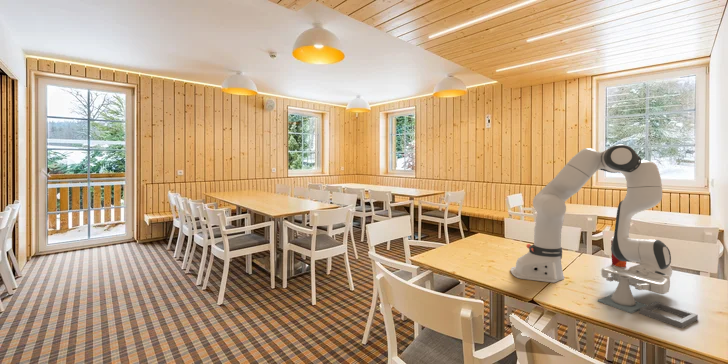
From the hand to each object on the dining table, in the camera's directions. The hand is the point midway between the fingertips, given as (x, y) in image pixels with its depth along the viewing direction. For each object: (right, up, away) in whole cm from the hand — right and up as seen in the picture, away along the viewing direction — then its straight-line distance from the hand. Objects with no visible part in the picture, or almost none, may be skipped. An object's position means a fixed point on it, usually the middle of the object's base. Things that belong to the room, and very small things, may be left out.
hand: (622, 283), depth 122 cm
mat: (+1, -8, +1) cm, 8 cm away
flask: (+1, -8, +1) cm, 8 cm away
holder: (+9, -9, -9) cm, 15 cm away
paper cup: (+33, -5, +43) cm, 55 cm away
